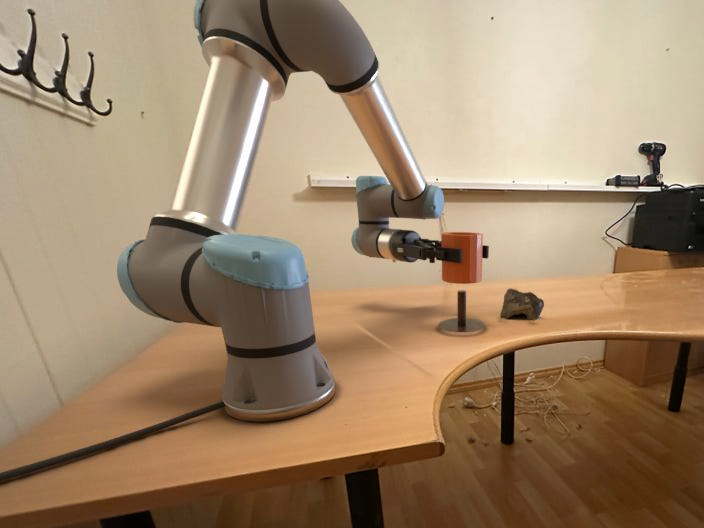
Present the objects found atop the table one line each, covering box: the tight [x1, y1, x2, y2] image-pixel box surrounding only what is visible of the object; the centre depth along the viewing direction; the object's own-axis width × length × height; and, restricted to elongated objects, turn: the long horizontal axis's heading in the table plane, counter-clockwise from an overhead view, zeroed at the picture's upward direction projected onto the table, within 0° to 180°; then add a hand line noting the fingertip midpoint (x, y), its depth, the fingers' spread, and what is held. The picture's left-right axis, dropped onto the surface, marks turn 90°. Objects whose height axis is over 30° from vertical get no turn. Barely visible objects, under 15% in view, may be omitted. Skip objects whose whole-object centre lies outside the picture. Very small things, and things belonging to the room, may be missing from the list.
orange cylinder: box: [440, 231, 484, 285], centre depth 89 cm, size 9×9×10 cm
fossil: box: [500, 288, 545, 321], centre depth 102 cm, size 11×9×10 cm
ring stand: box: [438, 289, 486, 333], centre depth 93 cm, size 11×11×9 cm
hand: (474, 254), depth 86 cm, fingers closed on orange cylinder, 9 cm apart
